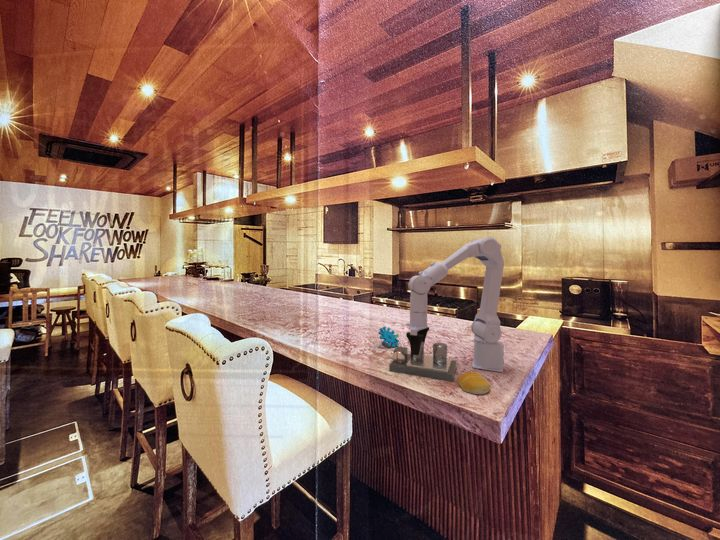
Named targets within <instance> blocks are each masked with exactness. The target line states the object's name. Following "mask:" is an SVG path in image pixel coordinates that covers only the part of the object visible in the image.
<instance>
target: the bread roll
mask: <svg viewBox="0 0 720 540" xmlns="http://www.w3.org/2000/svg"><path fill="white" fill-rule="evenodd" d="M457 382H458V384H459V387H461V389H462V391H464V392H466V393H469V394H472V395H485V394H487V393H489V392H490V390H491V385H490V384H491V383H489V381H488V380H486V379H485V377H484V376H482V375H481V374H480V373H478V372H475V371H467V372H464V373H462V374H461V375H459V377H458V379H457Z"/></svg>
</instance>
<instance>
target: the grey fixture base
mask: <svg viewBox="0 0 720 540" xmlns="http://www.w3.org/2000/svg"><path fill="white" fill-rule="evenodd" d="M408 348H409V347H405V346H399V345H397V346H396V347H395V348H394V350H393V353H392V354H391V355H392V356H391V360H392V361H391V362H390V363H389V366H388V367H389V368H388V369H389V370H388V371H390V372H395V373H401V374H407V375H411V376H416V377H417V376H418V377H424V378H430V379H435V380H442V381H447V382H453V380H454V378H455V373H456V369H457V362H458V361H457V360H453V359H452V358H449V357H447V364H446V365H436V364H434V363H433V355H427V354H424V361H422V362H415V361H412V360H411V353H408Z"/></svg>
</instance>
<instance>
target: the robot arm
mask: <svg viewBox="0 0 720 540" xmlns="http://www.w3.org/2000/svg"><path fill="white" fill-rule="evenodd" d="M501 248H502V244H500V243H499V241H497V239H495V238H493V237H491V236H490V237H485V238H474V239H472V240H471V241H470V242H467V243H465V244H463V246H461V247H460V248H459V249H458V250H456V251H454V253H452V254H451V255H449V256H448V257H447V258H446V259H444V260H443V261H442V262H440V261H435V262H431V263H429V267H427V268H426V269H424V270H423V271H422V270H421V271H419V272H418V275H414V276H412V277H410V279H409V281H408V283H407V285H408V288H409V290H410V296H409V322H406V323H405V325H406V326H407V327H409V329H410V331H407V332H406V334H405V335H406V338H407V339H408V342H409V346H410V353H411V352H412V355H419V352H420V346H421V342H422V341H423V342H424V344H425V343H426V337H427V335H428V332H429V330H430V327H428V293H429V291H430V290H431V287H433V286H434V285H435V284H437V283H438V282H440V281H441V280H442V279H444V278H445V277H447V276H448V273H449V270H451V269H452V268H454V267H456V266H457V265H458V264H460V263H462V262H463V261H465V260H466V259H468V258H473V257H474V258H475V259H478V261H480V262H481V263H482V264H483V265H484V266H485V270H484V271H485V272H484V279H483V285H482V286H483V287H482V294H481V299H480V306H479V311H478V312H477V313H476V314H475V317H474V319H473V322H472V324H471V325H470V328H471V332H472V333H473V334H474V338H473V341H474V342H473V343H474V344H473V359H472V365H471V368H472V369H478V370H486V371H493V372H500V373H504V365H505V358H504V342H501V341H500V340H501V338H502V334H503V333H502V329H501V320H500V318H499V316H498V308H499V301H500V296H501V295H500V294H501V286H502V280H503V274H504V266H505V260H504V257H503V254H502V249H501Z"/></svg>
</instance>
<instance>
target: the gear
mask: <svg viewBox="0 0 720 540" xmlns="http://www.w3.org/2000/svg"><path fill="white" fill-rule="evenodd" d="M378 335H379V339H380V340H382V341H381V345H385V344H386V343H388V344H386V346H387V347H388V348H390V347H391V348H392V349H395V348H396V347H397V346H399V342H400V339H398V338H399V336H400V334H399V333H397V334H396V332H395V331H394V330H392V331H391V328H390V327H386V326H383V327H380V328H379V332H378Z"/></svg>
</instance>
